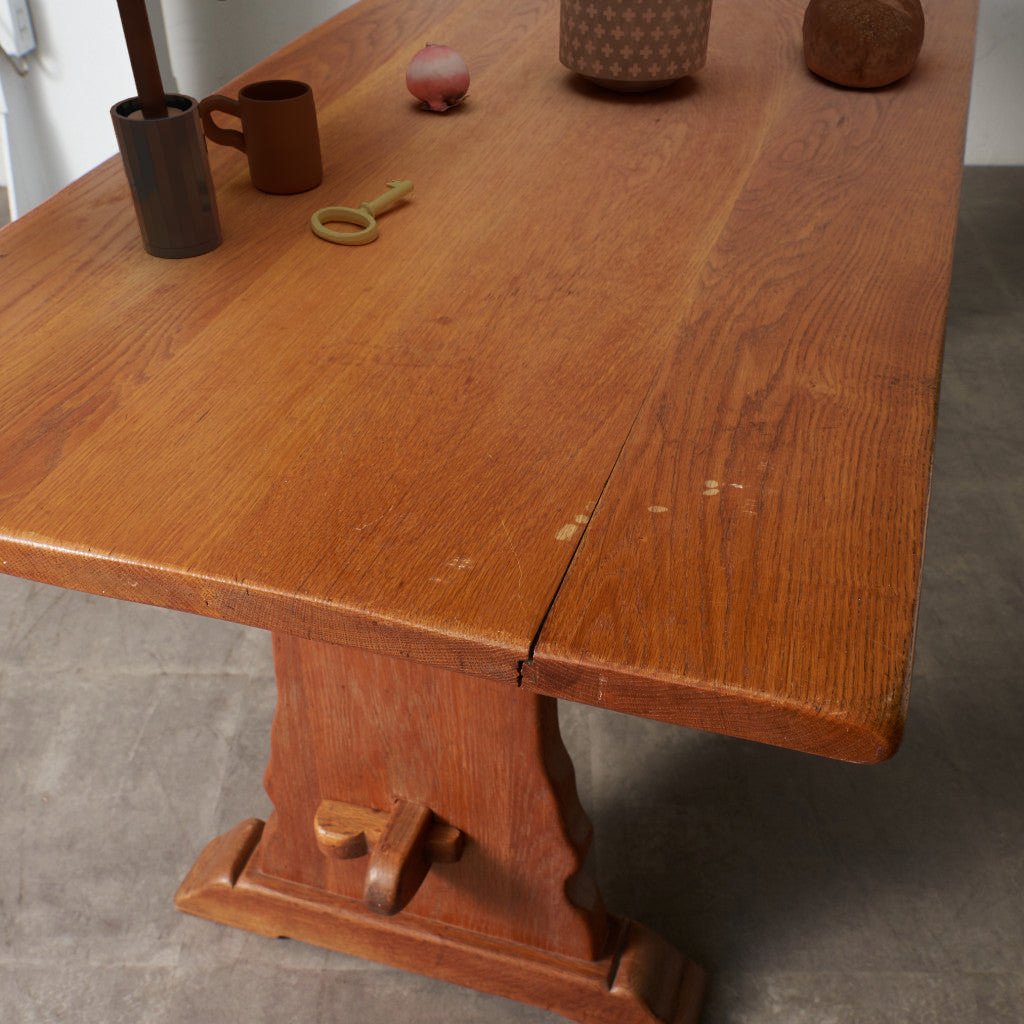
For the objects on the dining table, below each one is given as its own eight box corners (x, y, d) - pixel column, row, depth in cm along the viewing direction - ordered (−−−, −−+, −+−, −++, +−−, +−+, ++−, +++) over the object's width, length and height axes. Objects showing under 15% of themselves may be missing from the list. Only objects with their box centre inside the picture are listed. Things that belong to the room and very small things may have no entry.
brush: (131, 180, 90) (76, -47, 78) (154, 160, 94) (104, -59, 82) (182, 183, 89) (134, -45, 78) (203, 163, 93) (160, -57, 82)
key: (417, 199, 103) (416, 178, 102) (367, 249, 94) (364, 227, 93) (354, 190, 105) (351, 170, 104) (298, 239, 96) (295, 218, 95)
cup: (130, 255, 93) (94, 118, 85) (163, 223, 99) (132, 91, 91) (206, 261, 92) (177, 122, 84) (235, 227, 98) (210, 94, 90)
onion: (473, 97, 129) (471, 36, 124) (469, 117, 123) (467, 54, 118) (410, 96, 129) (407, 36, 124) (404, 116, 123) (399, 54, 118)
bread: (796, 89, 131) (812, -7, 124) (798, 30, 153) (812, -54, 146) (921, 97, 128) (946, -1, 121) (906, 36, 150) (925, -50, 143)
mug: (205, 200, 103) (186, 105, 97) (213, 172, 109) (195, 81, 103) (323, 194, 104) (312, 100, 98) (325, 166, 110) (313, 77, 104)
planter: (730, 95, 129) (751, -66, 117) (595, 114, 124) (604, -53, 112) (659, 56, 143) (672, -92, 131) (536, 71, 137) (538, -82, 126)
